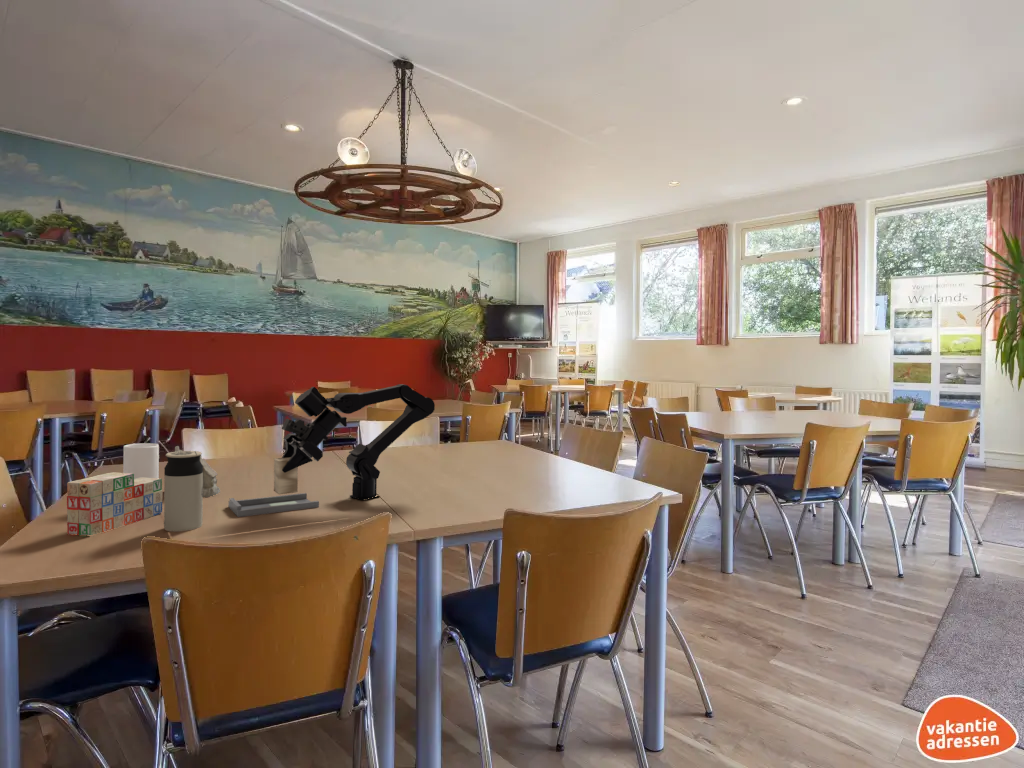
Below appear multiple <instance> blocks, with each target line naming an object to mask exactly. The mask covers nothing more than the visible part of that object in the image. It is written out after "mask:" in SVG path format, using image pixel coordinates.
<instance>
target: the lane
mask: <svg viewBox="0 0 1024 768" xmlns="http://www.w3.org/2000/svg"><path fill="white" fill-rule="evenodd" d="M307 497H308V496H307V492H301V493H290V494H281V495H274V496H267V497H264V496H263V497H255V498H247V499H239V500H238V499H237V500H236V499H235V498H234V497H231V498H229V500H228V508H229V509H230V511H231V512H232V513H233V514H235V516H236V517H238V518H242V517H243V518H244V517H251V516H257V515H267V514H273V513H275V514H276V513H281V512H282V513H283V512H289V511H298V510H306V509H315V508H319V507H320V501H319V500H314V501H311V500H309V499H308V498H307Z"/></svg>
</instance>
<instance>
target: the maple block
mask: <svg viewBox="0 0 1024 768" xmlns="http://www.w3.org/2000/svg"><path fill="white" fill-rule="evenodd" d="M290 458H291V457H288V458H282V457H278V458H277V457H276V458H273V491H274V492H275V494H277V495H288V494H297V493H298V481H299V480H298V478H299V477H298V476H299V475H298V474H299V472H298V471H299V470H298V467H297V468H294V469H292V470H290V471H288V472H286V473H284V472H283V471H282V469H283V468H284V466H285V465H286V463H287V462H288V461H289V459H290Z"/></svg>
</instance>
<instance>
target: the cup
mask: <svg viewBox="0 0 1024 768" xmlns="http://www.w3.org/2000/svg"><path fill="white" fill-rule="evenodd" d="M159 448H160V445H159V444H158V443H155V442H153V443H152V442H150V443H149V442H145V443H143V442H142V443H130V444H126V445H123V464H122V465H123V472H122V473H133V474H134V479H137V478H141V477H144V478H159V475H160V474H159V473H160V471H159V469H160V468H159V466H160V465H159V464H160V463H159V461H160V459H159V456H160V454H159V453H160V452H159V450H160V449H159Z"/></svg>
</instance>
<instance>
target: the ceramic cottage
mask: <svg viewBox="0 0 1024 768" xmlns="http://www.w3.org/2000/svg"><path fill="white" fill-rule="evenodd" d="M177 451H183V450H182V449H180V446H179V445H177V446H175V447H174V452H177ZM200 462H201V464H202V465H203V497H205V498H211V497H210V496H212V497H214V496H213V495H216V494H218V493H219V492H220V493H221V489H220V487H219V486H217V485H218V484H217V482H218V479H217V476H218V472H217V471H216V470H215V469H214V468H212V467H211V465H210V464H209V463H208V462H207V460H206V459H205V458H204V457H202V455H201V456H200ZM220 493H219V494H220ZM219 494H218V495H219ZM216 496H217V495H216Z"/></svg>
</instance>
